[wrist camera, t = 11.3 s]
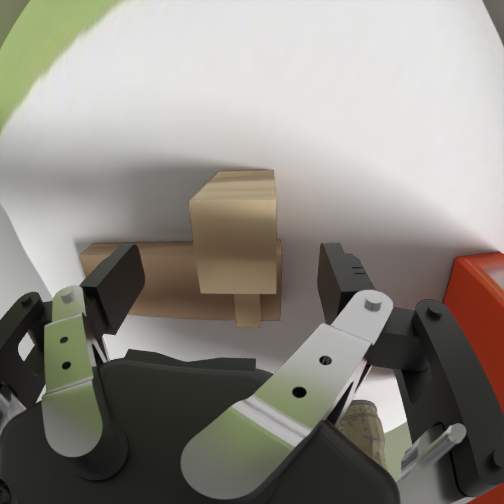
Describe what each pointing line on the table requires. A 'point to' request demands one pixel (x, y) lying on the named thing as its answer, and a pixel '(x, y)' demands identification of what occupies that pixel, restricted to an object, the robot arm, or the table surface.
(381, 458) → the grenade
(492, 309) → the file binder
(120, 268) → the robot arm
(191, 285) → the brown block
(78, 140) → the table surface
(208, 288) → the wooden brick
